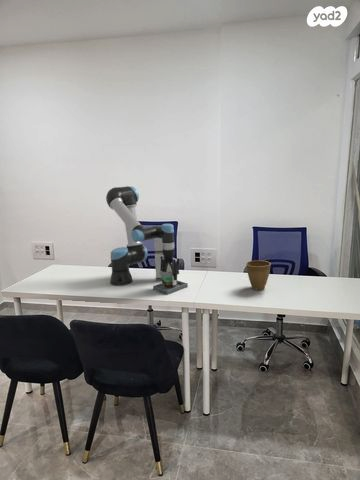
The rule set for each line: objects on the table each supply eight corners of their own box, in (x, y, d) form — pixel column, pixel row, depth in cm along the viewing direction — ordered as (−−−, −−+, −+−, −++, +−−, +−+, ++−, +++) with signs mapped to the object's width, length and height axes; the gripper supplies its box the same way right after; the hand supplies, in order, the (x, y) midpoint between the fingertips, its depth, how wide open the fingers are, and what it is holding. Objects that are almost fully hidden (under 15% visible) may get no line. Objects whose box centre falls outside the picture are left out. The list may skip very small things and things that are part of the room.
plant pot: (275, 287, 214) (275, 262, 211) (261, 293, 204) (261, 268, 201) (255, 282, 225) (255, 258, 222) (241, 288, 215) (241, 263, 212)
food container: (162, 288, 215) (161, 273, 213) (160, 285, 221) (159, 270, 219) (181, 286, 218) (180, 271, 216) (178, 283, 224) (178, 268, 222)
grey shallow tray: (153, 289, 219) (152, 286, 219) (173, 282, 231) (173, 279, 230) (167, 294, 209) (167, 290, 209) (187, 287, 221) (187, 283, 221)
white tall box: (174, 275, 245) (172, 227, 238) (172, 280, 235) (170, 230, 228) (159, 275, 247) (156, 228, 240) (156, 280, 237) (153, 230, 230)
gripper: (153, 247, 220) (155, 281, 224) (175, 252, 205) (176, 288, 210) (162, 245, 225) (164, 278, 229) (184, 249, 210) (185, 285, 215)
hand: (170, 283), depth 219 cm, fingers closed on food container, 8 cm apart
